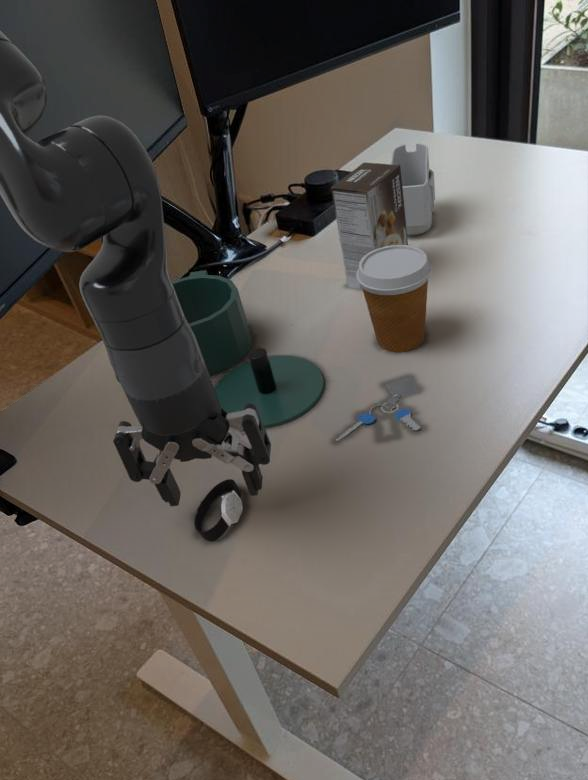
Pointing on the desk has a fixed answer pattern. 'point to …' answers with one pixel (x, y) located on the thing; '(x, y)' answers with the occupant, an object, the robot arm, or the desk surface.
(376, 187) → the coffee box
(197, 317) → the pot
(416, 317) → the disposable coffee cup
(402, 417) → the key chain
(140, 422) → the robot arm
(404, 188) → the cable organizer
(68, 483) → the desk surface
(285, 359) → the lid
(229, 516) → the watch
